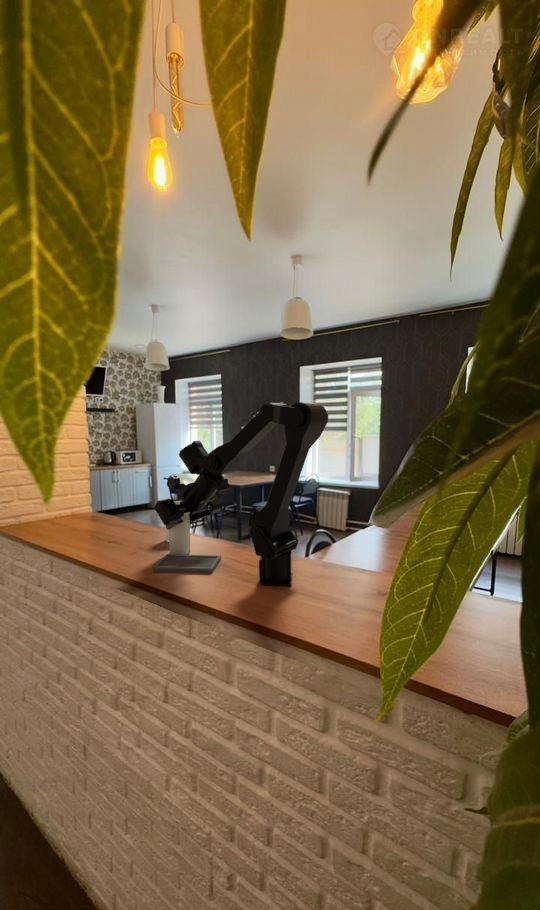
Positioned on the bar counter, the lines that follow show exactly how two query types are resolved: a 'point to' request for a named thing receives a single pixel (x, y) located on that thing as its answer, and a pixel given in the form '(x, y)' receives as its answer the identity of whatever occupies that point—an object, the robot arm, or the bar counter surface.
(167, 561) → the bar mat
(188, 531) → the tumbler
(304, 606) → the bar counter surface
